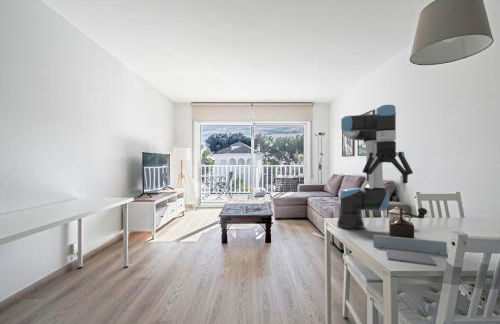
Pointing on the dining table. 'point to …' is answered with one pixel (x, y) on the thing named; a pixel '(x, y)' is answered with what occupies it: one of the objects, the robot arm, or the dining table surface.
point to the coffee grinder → (404, 225)
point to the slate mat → (410, 257)
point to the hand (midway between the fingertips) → (386, 189)
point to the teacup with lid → (396, 214)
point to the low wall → (410, 244)
